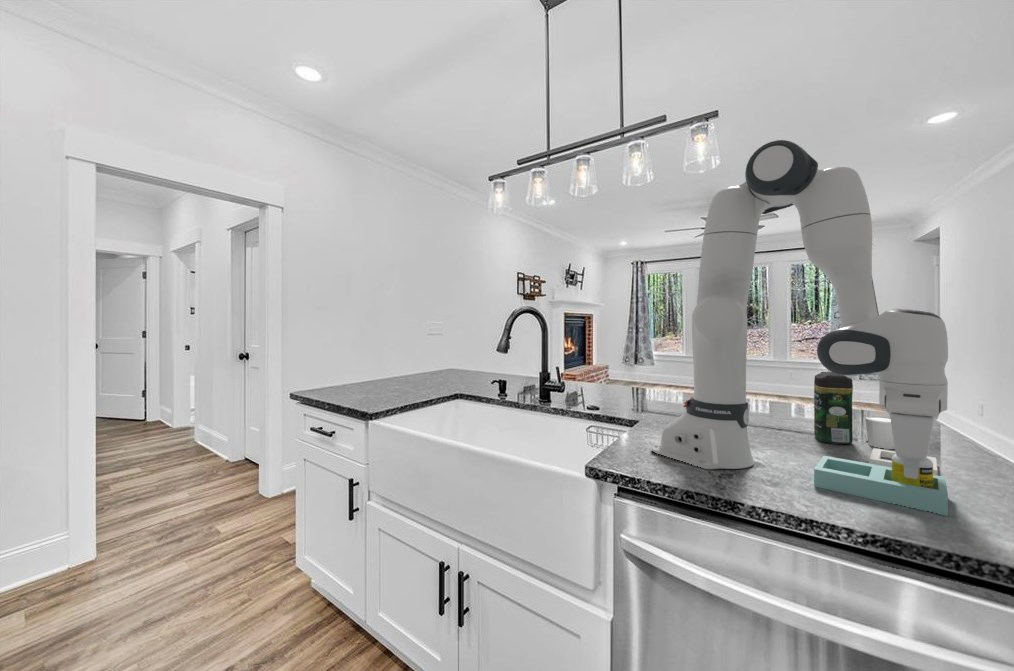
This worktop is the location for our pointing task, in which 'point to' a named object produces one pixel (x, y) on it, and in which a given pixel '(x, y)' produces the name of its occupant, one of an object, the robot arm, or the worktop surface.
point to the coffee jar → (833, 408)
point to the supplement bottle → (923, 473)
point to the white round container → (880, 432)
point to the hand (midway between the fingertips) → (911, 472)
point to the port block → (879, 484)
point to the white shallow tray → (879, 453)
